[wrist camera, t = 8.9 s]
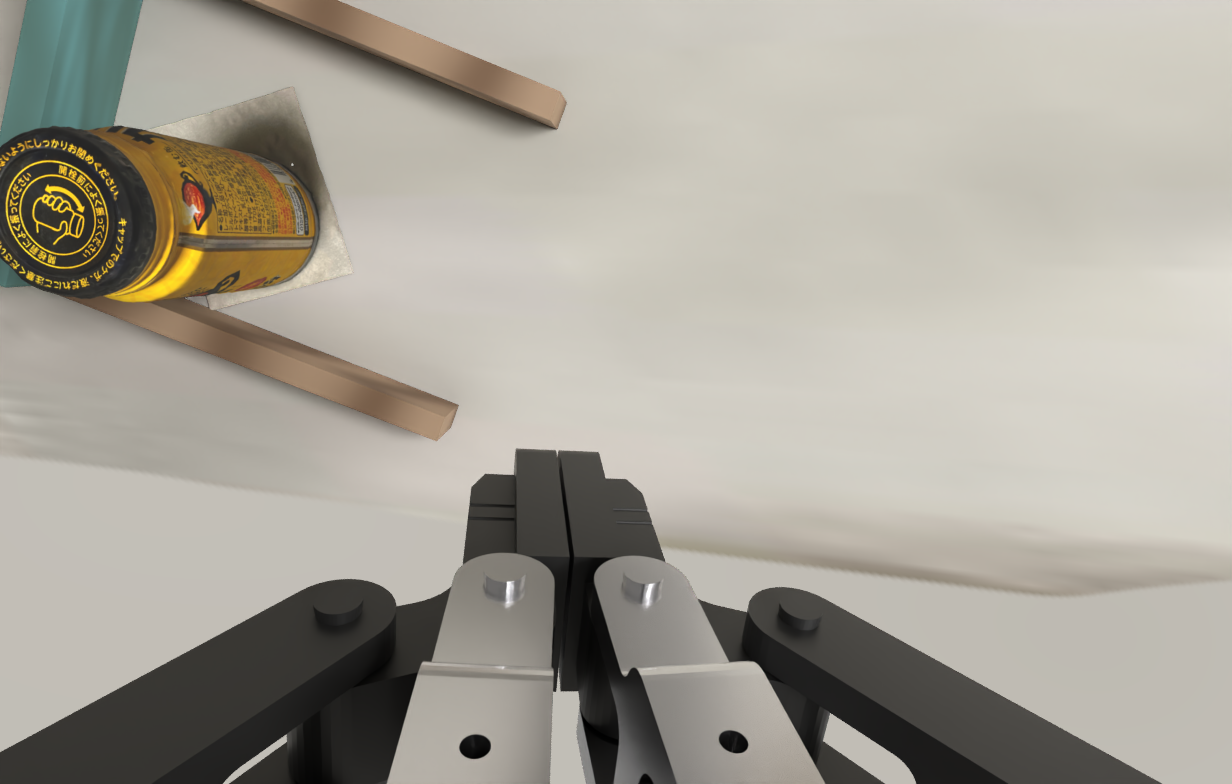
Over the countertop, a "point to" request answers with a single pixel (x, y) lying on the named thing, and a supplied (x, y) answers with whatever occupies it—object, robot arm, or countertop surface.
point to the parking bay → (88, 98)
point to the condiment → (172, 208)
